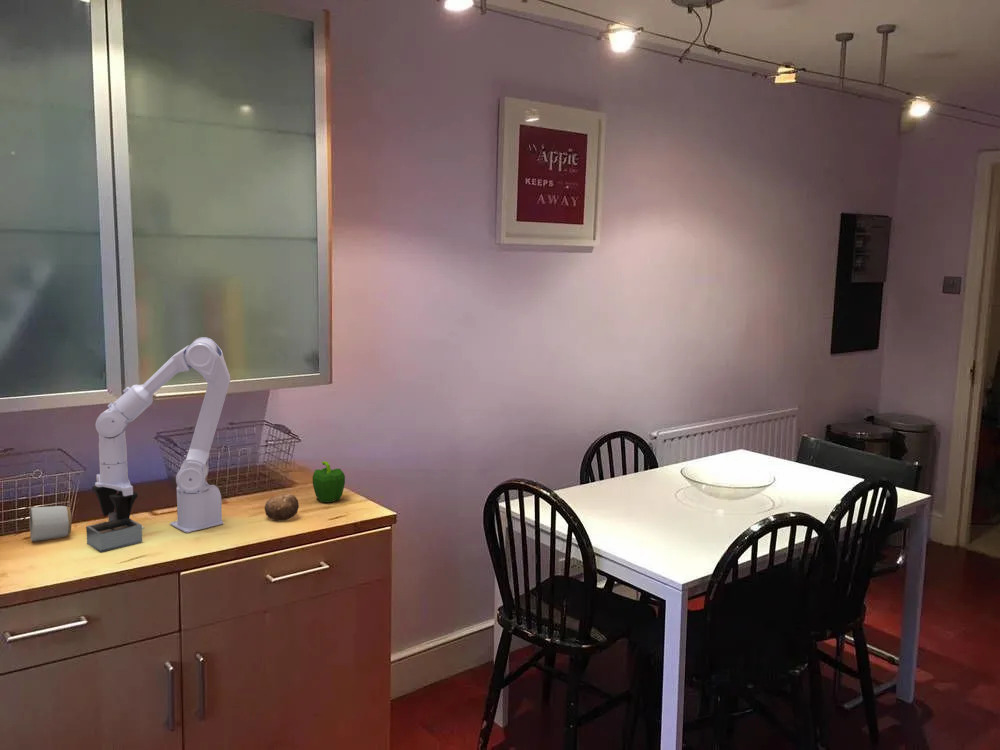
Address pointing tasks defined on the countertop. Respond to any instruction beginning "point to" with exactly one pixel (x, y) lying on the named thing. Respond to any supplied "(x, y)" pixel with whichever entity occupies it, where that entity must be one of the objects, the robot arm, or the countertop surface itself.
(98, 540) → the tin
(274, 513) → the brown potato
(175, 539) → the countertop surface
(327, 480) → the bell pepper
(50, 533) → the ceramic mug
